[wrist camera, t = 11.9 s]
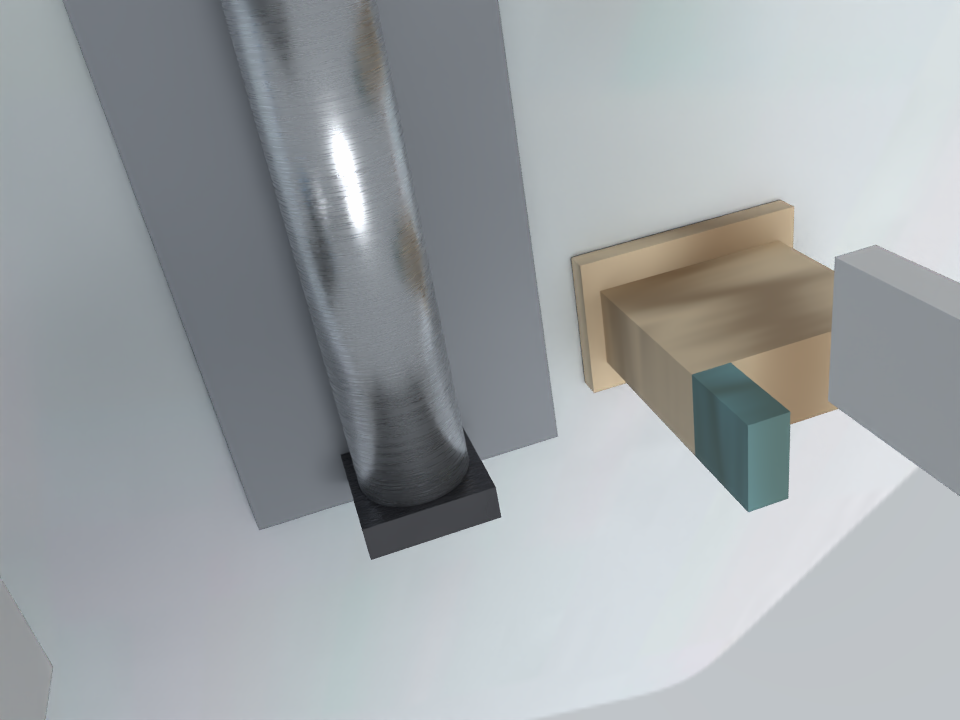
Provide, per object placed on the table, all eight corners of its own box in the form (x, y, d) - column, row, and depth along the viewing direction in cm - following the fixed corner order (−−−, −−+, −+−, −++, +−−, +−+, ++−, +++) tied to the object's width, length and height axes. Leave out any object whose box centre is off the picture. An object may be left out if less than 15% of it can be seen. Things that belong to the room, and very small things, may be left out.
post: (585, 382, 32) (728, 550, 23) (571, 257, 29) (725, 395, 21) (778, 323, 33) (978, 462, 25) (780, 200, 31) (1003, 307, 22)
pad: (258, 519, 30) (259, 530, 30) (-21, -236, 19) (-27, -240, 19) (551, 428, 32) (557, 436, 32) (449, -304, 21) (455, -310, 21)
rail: (464, 446, 31) (501, 517, 27) (348, 482, 30) (370, 559, 26) (322, -248, 21) (351, -282, 17) (142, -221, 20) (133, -249, 16)
